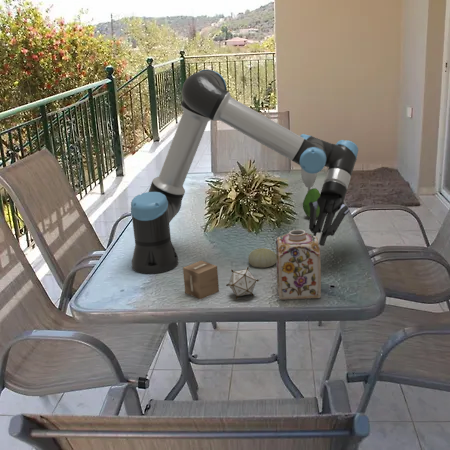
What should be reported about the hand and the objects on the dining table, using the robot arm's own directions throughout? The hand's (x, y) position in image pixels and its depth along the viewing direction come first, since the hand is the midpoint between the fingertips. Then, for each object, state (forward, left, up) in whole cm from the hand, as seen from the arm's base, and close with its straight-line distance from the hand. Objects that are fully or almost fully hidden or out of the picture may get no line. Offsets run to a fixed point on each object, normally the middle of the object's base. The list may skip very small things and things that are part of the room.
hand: (314, 254), depth 175 cm
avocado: (-36, +45, -7) cm, 58 cm away
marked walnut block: (-18, -29, -7) cm, 35 cm away
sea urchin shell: (-19, -2, -8) cm, 21 cm away
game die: (-7, -23, -7) cm, 26 cm away
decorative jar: (+3, -11, -7) cm, 14 cm away
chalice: (-46, +55, -7) cm, 72 cm away
